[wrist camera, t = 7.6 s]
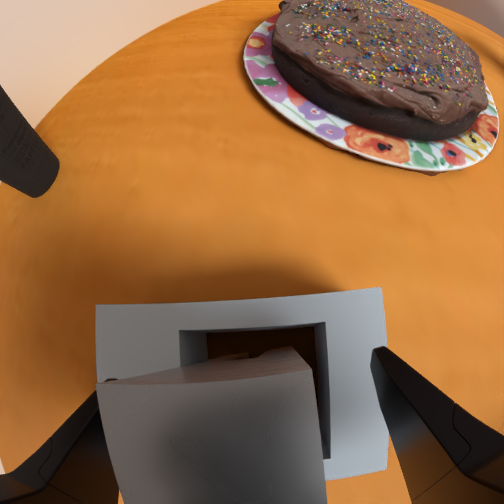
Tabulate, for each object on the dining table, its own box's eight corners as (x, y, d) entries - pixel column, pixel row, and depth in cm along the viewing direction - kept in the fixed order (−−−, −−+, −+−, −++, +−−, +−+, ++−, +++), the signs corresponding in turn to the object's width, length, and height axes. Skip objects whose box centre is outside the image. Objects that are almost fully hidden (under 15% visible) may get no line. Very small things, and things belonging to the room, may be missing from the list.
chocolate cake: (361, 240, 19) (393, 195, 12) (203, 42, 27) (190, -2, 21) (525, 132, 20) (551, 100, 13) (378, 3, 28) (383, -29, 22)
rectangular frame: (362, 439, 14) (386, 469, 10) (146, 441, 16) (108, 465, 11) (356, 301, 17) (381, 286, 12) (138, 314, 18) (95, 304, 13)
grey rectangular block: (300, 409, 16) (329, 545, 3) (234, 416, 16) (140, 541, 3) (291, 346, 17) (311, 369, 4) (225, 355, 17) (95, 383, 5)
